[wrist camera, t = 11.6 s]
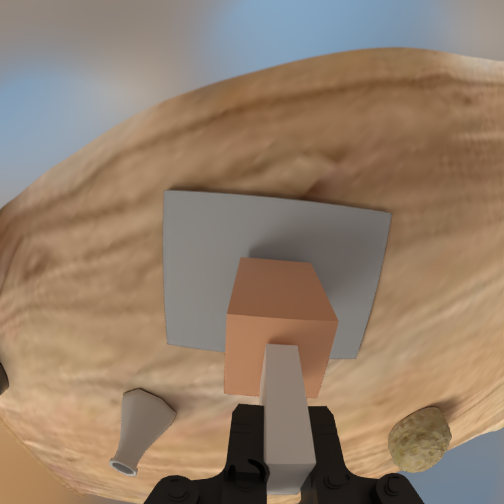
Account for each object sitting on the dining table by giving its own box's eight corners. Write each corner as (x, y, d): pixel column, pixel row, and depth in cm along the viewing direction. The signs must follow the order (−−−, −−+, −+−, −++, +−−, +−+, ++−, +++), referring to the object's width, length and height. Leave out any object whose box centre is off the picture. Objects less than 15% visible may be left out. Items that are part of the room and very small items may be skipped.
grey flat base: (170, 338, 25) (133, 412, 16) (168, 189, 21) (103, 206, 12) (353, 353, 25) (384, 427, 16) (386, 211, 21) (458, 241, 12)
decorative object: (387, 403, 32) (369, 466, 25) (452, 395, 25) (440, 466, 18) (402, 421, 35) (388, 475, 28) (458, 415, 28) (447, 473, 21)
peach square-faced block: (236, 318, 22) (223, 393, 14) (240, 256, 21) (226, 313, 12) (300, 323, 22) (316, 398, 14) (310, 262, 21) (338, 321, 12)
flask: (136, 379, 27) (102, 443, 18) (186, 412, 29) (167, 479, 19) (114, 402, 29) (84, 457, 20) (159, 431, 30) (139, 488, 21)
